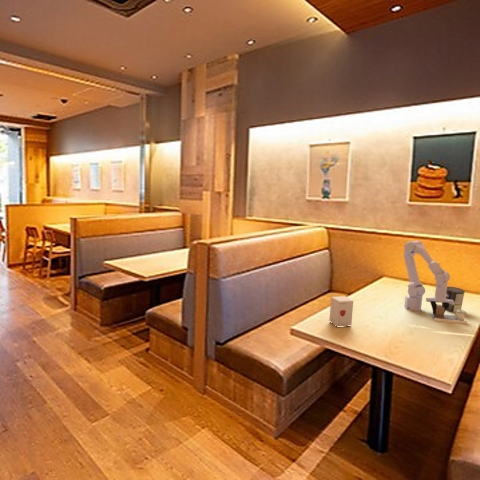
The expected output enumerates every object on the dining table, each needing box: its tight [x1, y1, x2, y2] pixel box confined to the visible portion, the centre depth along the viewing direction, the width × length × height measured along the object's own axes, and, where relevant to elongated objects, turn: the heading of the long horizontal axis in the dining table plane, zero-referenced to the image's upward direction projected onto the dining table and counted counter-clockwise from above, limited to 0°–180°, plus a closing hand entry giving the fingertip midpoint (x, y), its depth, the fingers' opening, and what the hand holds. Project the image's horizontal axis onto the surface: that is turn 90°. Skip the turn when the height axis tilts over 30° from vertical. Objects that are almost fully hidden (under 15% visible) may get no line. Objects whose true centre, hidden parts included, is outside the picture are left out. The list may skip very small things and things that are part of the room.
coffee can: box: [445, 286, 466, 313], centre depth 229 cm, size 10×10×14 cm
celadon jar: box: [455, 308, 466, 321], centre depth 210 cm, size 5×5×7 cm
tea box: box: [432, 304, 446, 318], centre depth 217 cm, size 7×4×6 cm, turn 168°
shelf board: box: [428, 312, 468, 325], centre depth 214 cm, size 16×13×2 cm
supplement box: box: [328, 295, 354, 327], centre depth 201 cm, size 9×9×15 cm
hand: (438, 314), depth 217 cm, fingers closed on tea box, 4 cm apart
